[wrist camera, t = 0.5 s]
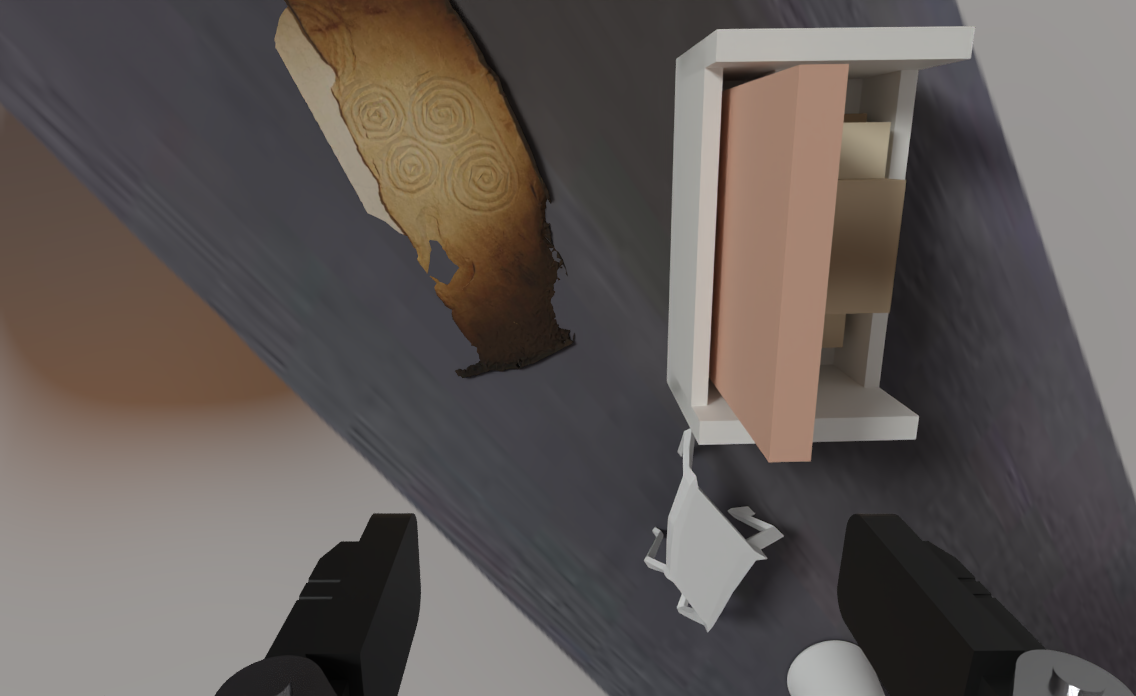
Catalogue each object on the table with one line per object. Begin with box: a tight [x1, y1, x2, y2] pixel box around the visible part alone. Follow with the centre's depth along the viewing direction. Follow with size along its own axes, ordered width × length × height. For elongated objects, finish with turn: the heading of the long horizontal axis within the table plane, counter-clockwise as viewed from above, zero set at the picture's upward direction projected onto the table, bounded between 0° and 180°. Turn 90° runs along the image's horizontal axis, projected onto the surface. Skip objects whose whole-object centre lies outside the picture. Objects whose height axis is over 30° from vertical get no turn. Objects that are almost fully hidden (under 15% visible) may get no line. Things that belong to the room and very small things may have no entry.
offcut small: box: [825, 178, 906, 314], centre depth 31 cm, size 6×4×2 cm, turn 1°
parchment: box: [274, 0, 575, 378], centre depth 36 cm, size 25×10×1 cm, turn 25°
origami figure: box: [644, 428, 784, 632], centre depth 40 cm, size 12×8×5 cm
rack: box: [667, 26, 975, 445], centre depth 34 cm, size 18×10×9 cm, turn 1°
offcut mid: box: [838, 122, 891, 314], centre depth 33 cm, size 9×4×2 cm, turn 1°
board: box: [709, 64, 849, 462], centre depth 30 cm, size 14×2×14 cm, turn 1°
